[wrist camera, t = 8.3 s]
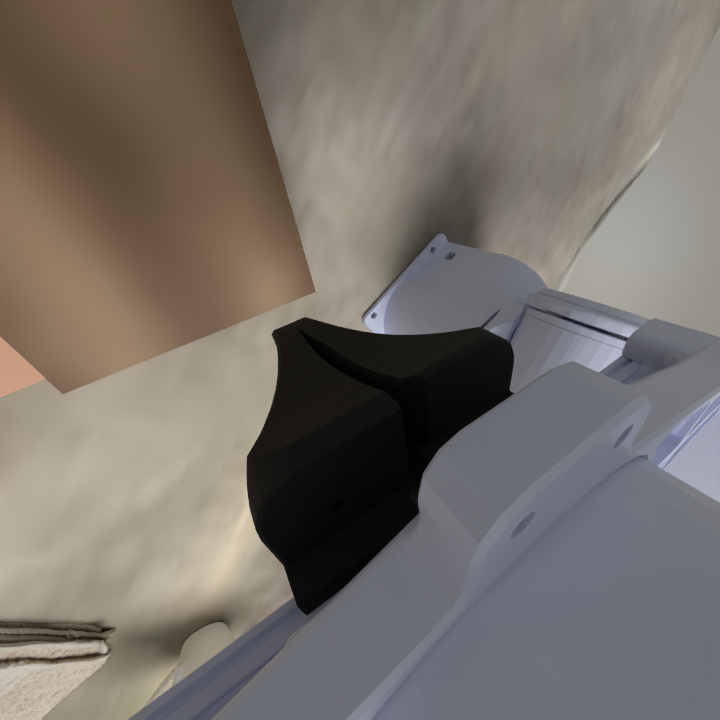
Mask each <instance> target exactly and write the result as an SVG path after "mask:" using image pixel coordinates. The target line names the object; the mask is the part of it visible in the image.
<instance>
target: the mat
mask: <svg viewBox="0 0 720 720" xmlns="http://www.w3.org/2000/svg"><path fill="white" fill-rule="evenodd" d="M45 379H46V378H45V377H44V376H43V375H42V374H40V373H39V372H38V371H37V370H36V369H35V368H34V367H33V366H32V365H31V364H30V363H28V362H27V361H26V360H25V359H24V358H23V357H22V356H21V355H20V354H19V353H18V352H17V351H15V350H14V349H13V348H12V347H11V346H10V345H9V344H8V343H7V342H6V341H5V340H4V339H2V338H1V337H0V397H1V396H4V395H6V394H9V393H12V392H14V391H17V390H19V389H22V388H24V387H27V386H30V385H32V384H35V383H37V382H40V381H43V380H45Z"/></svg>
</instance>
